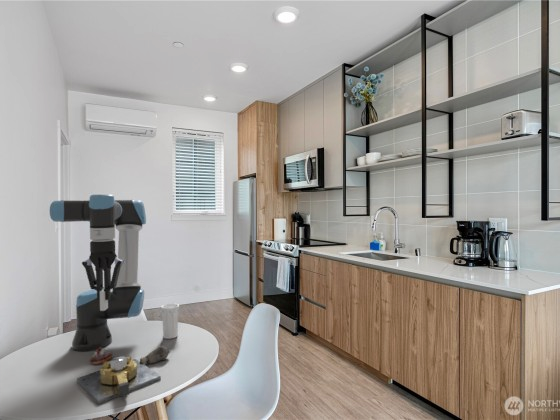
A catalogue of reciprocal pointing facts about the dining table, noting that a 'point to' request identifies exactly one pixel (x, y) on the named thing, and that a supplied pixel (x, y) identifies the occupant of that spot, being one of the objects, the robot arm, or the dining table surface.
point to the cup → (170, 320)
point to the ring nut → (119, 376)
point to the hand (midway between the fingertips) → (104, 309)
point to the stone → (155, 355)
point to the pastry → (100, 356)
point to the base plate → (108, 392)
